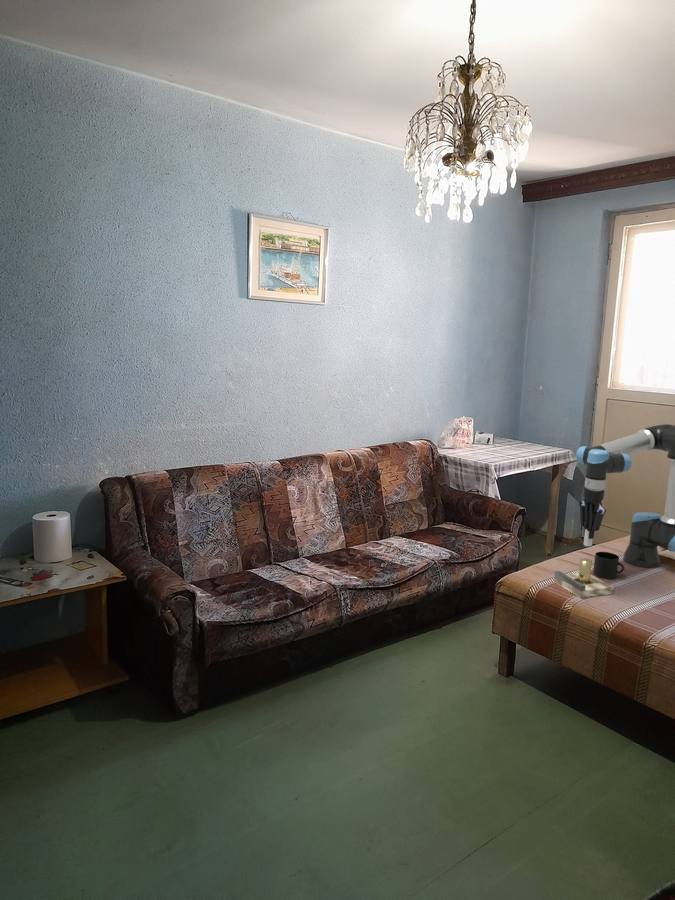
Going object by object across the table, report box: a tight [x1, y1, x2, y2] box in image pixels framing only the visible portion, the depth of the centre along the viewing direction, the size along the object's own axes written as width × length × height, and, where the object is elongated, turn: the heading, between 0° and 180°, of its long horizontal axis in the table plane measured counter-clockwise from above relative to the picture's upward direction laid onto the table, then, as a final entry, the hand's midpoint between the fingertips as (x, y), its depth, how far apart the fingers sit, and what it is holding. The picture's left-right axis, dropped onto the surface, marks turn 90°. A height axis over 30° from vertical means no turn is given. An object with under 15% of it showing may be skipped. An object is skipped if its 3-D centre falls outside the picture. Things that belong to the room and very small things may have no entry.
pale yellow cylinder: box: [578, 558, 593, 585], centre depth 259 cm, size 4×4×12 cm
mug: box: [592, 551, 625, 580], centre depth 273 cm, size 9×12×9 cm
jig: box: [553, 570, 614, 599], centre depth 259 cm, size 16×16×5 cm
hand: (587, 545), depth 256 cm, fingers closed
